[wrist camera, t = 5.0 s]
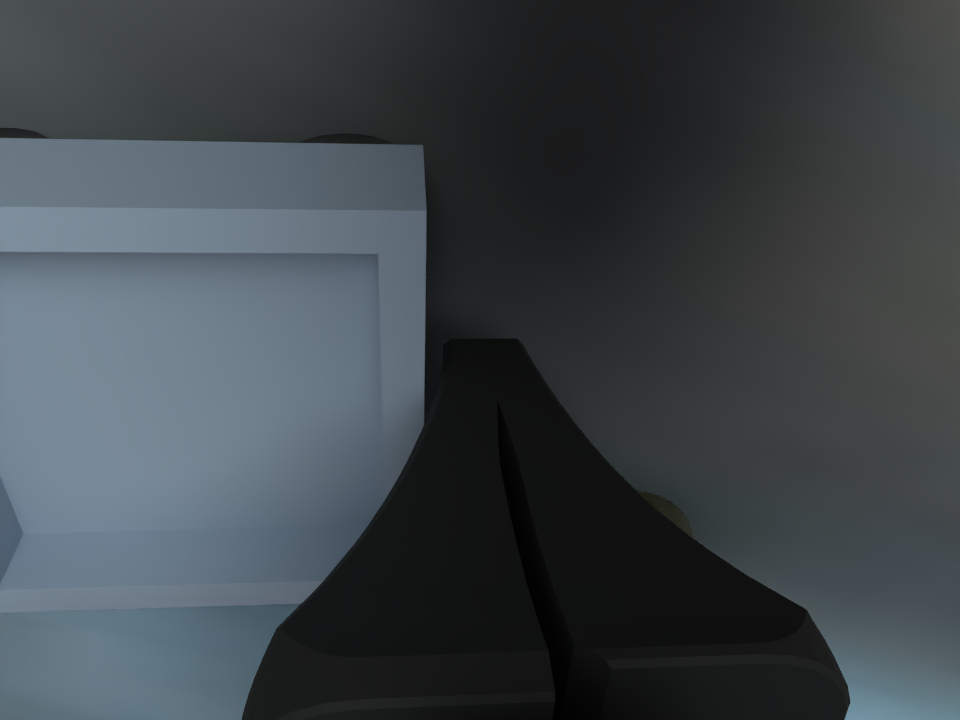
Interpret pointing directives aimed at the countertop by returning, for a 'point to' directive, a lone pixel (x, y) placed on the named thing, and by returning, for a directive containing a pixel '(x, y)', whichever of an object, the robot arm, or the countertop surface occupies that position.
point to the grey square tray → (202, 364)
